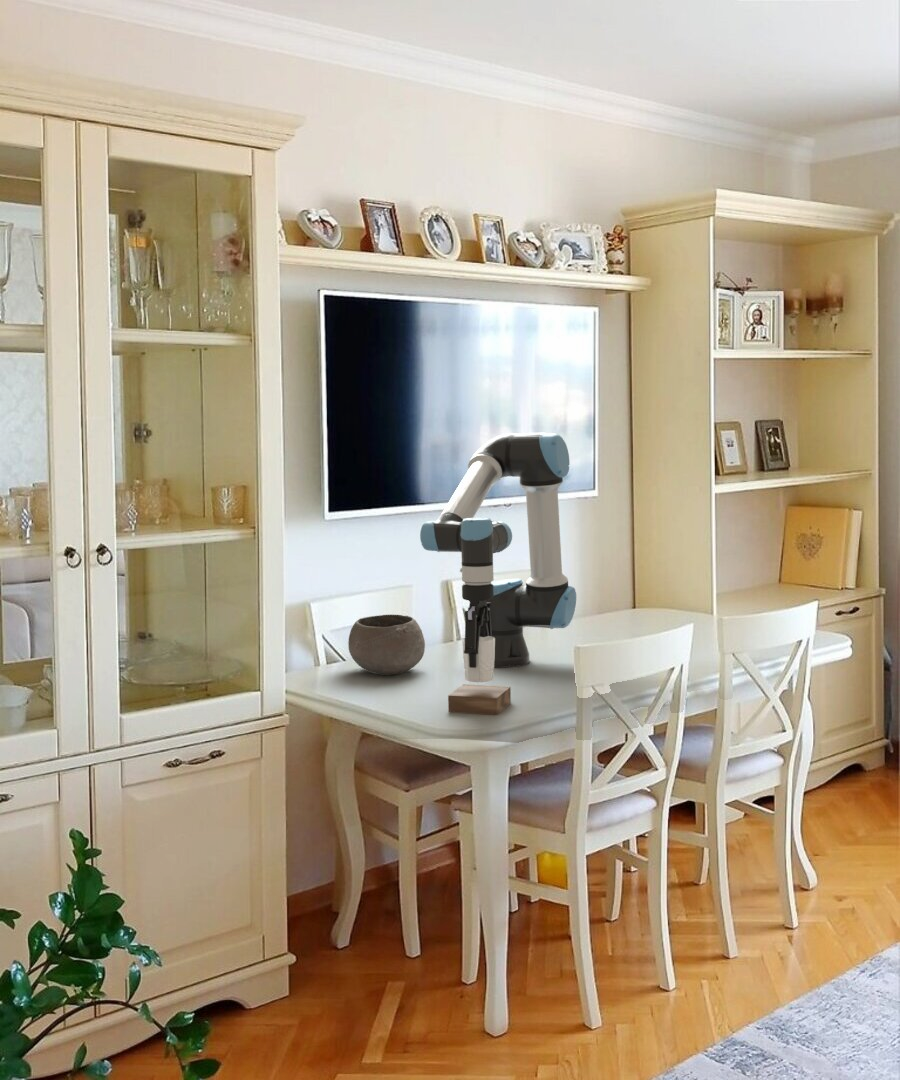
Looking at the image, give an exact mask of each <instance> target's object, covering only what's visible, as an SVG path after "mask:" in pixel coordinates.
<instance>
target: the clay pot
mask: <svg viewBox="0 0 900 1080" xmlns="http://www.w3.org/2000/svg"><path fill="white" fill-rule="evenodd" d="M422 630H423V629H422V628H421V626H420V624H419V623H418V622H417V620H416V619H415V618H414V617H413V616H409V615H403V614H379V615H372V616H366V617H365V616H364V617H360V618H358V619H357V620H356V621H355V622H354V624H353V626H351V629H350V632H349V636H348V641H347V643H348V651H349V655H350V656H351V659H352V660H353V661H354V662H355V663H356V664H357V665H358V666H359V667H361V669H363V670H364V671H367V672H369V673H372V674H376V675H380V676H389V675H391V676H392V675H398V674H401V673H405V672H407V671H409V670H412V669H413V668H415V667H416V666H417V665H418V664H419V663H420V661H421V660H422V659H423V657H424V655H425V650H426V642H425V637H424V634H423V631H422Z"/></svg>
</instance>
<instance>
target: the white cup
mask: <svg viewBox="0 0 900 1080" xmlns="http://www.w3.org/2000/svg"><path fill="white" fill-rule="evenodd" d="M461 642H462V656H463V657H462V658H463V667H464V679H465V681H468V682H470V683H472V682H473V683H485V682H490V681H493V680H494V672H495V667H494V660H495V638H494V637H492V636H487V637H480V638H479V648H478V653H480V681H470V680H468V654H464V651H465V636H464V637H462V641H461ZM471 648H472V647H471Z"/></svg>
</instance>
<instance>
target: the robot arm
mask: <svg viewBox="0 0 900 1080" xmlns="http://www.w3.org/2000/svg"><path fill="white" fill-rule="evenodd" d="M568 449H569V448H568V446H567V443H566V442H565V439H564V438H563V437H562V436H561V435H560V434H557V433H549V432H548V433H546V432H528V433H526V432H525V433H505V434H501V435H498V436H496V437H494V438H492V439H490V440H488V441H487V442H486V443H484V444H483V445H482V446H481V447H480V448H478V449H477V450H476V451H475V453H474V454H473V455H472V457H471V458H470V460H469V462H468V464H467V469H468V470H467V472H466V474H465V475H464V477H463V478H462V480H461V481H460V483H459V485H458V487H456V490H455V491H454V493H453V494H452V496H451V498H450V499H449V501H448V502H447V504H446V506H445V508H444V509H443V511H442V512H441V513H440V515H439V517H438V519H437V520H431V521H430V520H428V521H425V522H423V524H422V525H421V529H420V532H419V533H420V534H419V537H420V538H419V539H420V543H421V546H422V548H423V549H424V550H426V551H430V552H437V553H441V552H443V553H444V552H445V553H446V552H447V553H450V552H451V553H460V554H461V568H459V569H460V570H459V572H460V573H461V581H462V582H464V583H462V585H461V598H462V599H463V600H465V601H468V602H469V606H468V607H467V610H465V611H464V620H465V622H464V623H465V624H464V625H465V626H464V637H465V651H464V654H468V680H470V681H469V682H471V681H480V653H478V648H479V638H480V637H487V636H492V637H494V638H495V660H494V668H509V667H510V668H511V667H512V668H513V667H520V666H524V665H527V664H529V663H530V652H529V648H528V646H527V643H526V640H525V637H524V627H526V628H542V629H543V628H544V629H550V630H553V629H566V628H567V627H568V626H570V623H571V622H572V621H573V618H574V614H575V611H576V605H577V592H576V588H575V587H574V586H572V585H570V586H569V579H568V577H567V576H566V575H565V574H564V573H563V569H562V568H563V566H562V551H561V550H562V546H561V545H562V544H561V528H560V515H559V514H560V509H559V495H558V494H559V493H558V492H559V491H558V489H559V487H560V486H561V485H562V484H563V482H564V479H563V478H564V477H566V476H567V475H568V473H569V471H570V455H569V454H570V453H569V450H568ZM505 477H506V478H507V477H513V478H514V477H518V478H519V485H520V486H521V488H523V489H524V490H525V498H526V499H525V500H526V515H527V531H528V548H529V549H528V550H529V565H530V566H529V567H530V575H529V577H528V578H527V579H526V580H525V584H524V583H523V580H522V579H521V578H507V579H501V580H499V579H498V580H495V581H494V554H496V553H498V554H499V553H501V552H503V551H504V550H506V549H507V548H508V547H510V545H511V544H512V540H513V532H512V529H511V527H510V526H509V525H508V524H507V523H506V522H504V521H500V520H497V521H496V520H493V521H492V519H491V518H489V517H481V516H480V517H478V516H477V517H475V516H476V514H477V512H478V511H479V509H480V507H481V505H482V504H483V502H484V500H486V499H485V498H486V497H487V496H488V493H489V492H490V491H491V488H492V487H493V485H495V484H498V483H499V482H500V480H501V478H505ZM471 647H472V648H471Z"/></svg>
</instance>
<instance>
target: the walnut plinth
mask: <svg viewBox="0 0 900 1080" xmlns="http://www.w3.org/2000/svg"><path fill="white" fill-rule="evenodd" d="M511 690H512V689H511V686H503V685H500V686H499V685H483V684H462V685H460V686H459V687H457V689H455V690H453V691H452V692H451V693H450V694H448V695H447V697H448V698H447V699H448V700H447V701H448V706H447V707H448V713H461V714H476V715H479V714H480V715H490V716H491V715H494V716H496V715H497V716H498V715H499V714H500V713H501V712H502V711H503V710H504V709H505V708H506V707H508V706H509V705H510V704H511V703H512V701H511V699H512V698H511V694H512V693H511Z"/></svg>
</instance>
